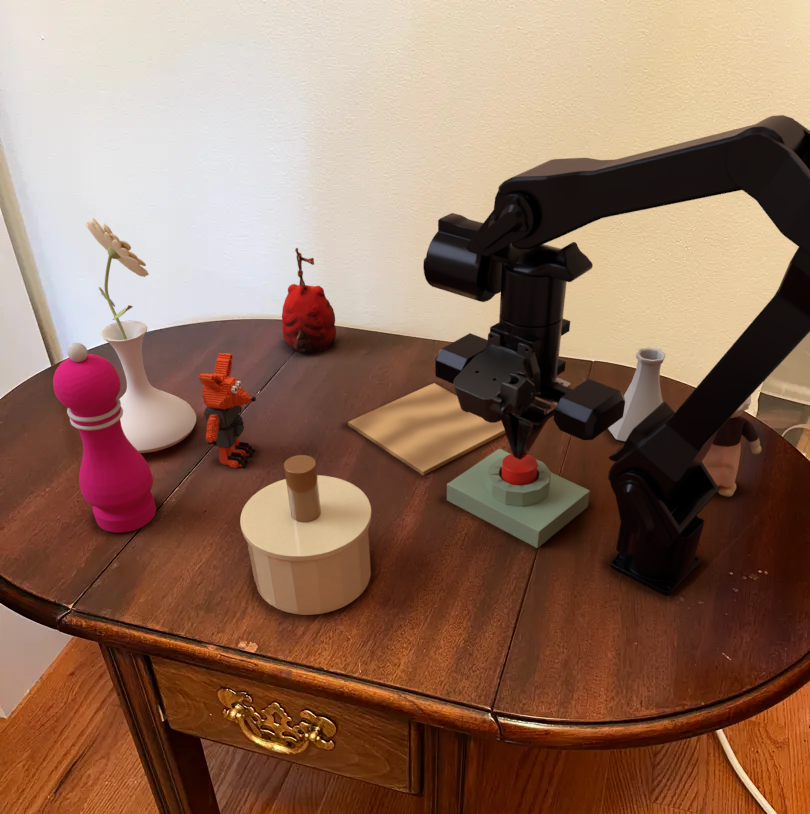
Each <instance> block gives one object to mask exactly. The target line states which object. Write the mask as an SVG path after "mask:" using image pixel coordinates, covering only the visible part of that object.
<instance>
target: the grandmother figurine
mask: <svg viewBox="0 0 810 814" xmlns="http://www.w3.org/2000/svg"><path fill="white" fill-rule="evenodd" d="M751 404H752V394H751V395H750V397H749V398H748V399H747V400H746V401H745V402H744V403H743V404H742V405H741V406H740V407H739V408H738V409H737V410H736V411H735V413H734V414H733V415H732V416H731V417H730V418H729V419H728V420H727V421H726V422H725V423H724V424H723V425H722V426H721V427H720V429H719V430H718V432H717V434H716V436H715V438H714V441H713V443H712V445H711V448H710V449H709V451H708V453H707V454H706V456H705V458H704V459H703V461H702V463H703V464H704V466H705V467H706V469H707V470H708V472H709V473H710V475H711V477H712V478H713V480H714V481H715V483H716V484H717V486H718V487H719V490H718V492H717V494H719V495H721V496H723V497H732V496H733V495H734V494H735V491H736V490H737V483H736V479H737V474H738V471H739V464H740V459H741V450H742V442H741V440H742V437H744V438H745V439H746V441H747V442H748V445H749V447H750V452H751V454H753V455H759V454H761V452H762V449H763V448H762V446H761V441H760V435H759V432H758V431H757V429H756V427H755V425H754V424H753V423H752V422H751V421H750V420H749V419H748V418H746V417H743V416H741V415H742V414H744V412H745V411H747V410H749V408H750V405H751Z"/></svg>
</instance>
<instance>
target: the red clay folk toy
mask: <svg viewBox="0 0 810 814" xmlns="http://www.w3.org/2000/svg"><path fill="white" fill-rule="evenodd" d="M294 252H295V254H296V261H297V266H298V270H297V277H298V278H299V284H295V283H291V284H290V285H288V288H287V295H286V297H285V298H284V302H283V305H282V313H281V323H282V324H281V330H282V331H281V333H282V337H283V339H284V341H285V343H286V344H287V345H288V346H289V347H290V348H291V349H292V350H293V351H296V352H298V353H302V354H308V353H309V354H310V353H317V352H320V351H324V350H326V349H327V348H330V347H331V346H332V344H333V343H334V342H335V339H336V336H337V328H336V315H335V311H334V308H333V307H332V305H331V303H330V301H329V300H328V298H327V297H326V293H325V290H324V288H323V287H321V285H309V284H306V282H305V280H304V271H303V267H302V264H303V263H302V262H306V263H308V264H310V265H312V266H314V265H315V261H314V260H315V258H314V257H310V258H306V257H303V254H302V253H301V252H299V247H296V248H295V249H294Z"/></svg>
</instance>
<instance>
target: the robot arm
mask: <svg viewBox="0 0 810 814" xmlns="http://www.w3.org/2000/svg"><path fill="white" fill-rule="evenodd" d="M740 191H742V192H744V193H746V194H747V195H748V196H749V197H751V198H752V199H753V200H755V201H756V202H757V203H758V205H759V206H760V207H761V209H762V210H763V212H764V213H765V214H766V215H767V217H768V218H769V220H770V221H771V222H772V224H774V226H775V227H776V229H777V230H778V231H779V232H780V233H781V234H782V236H784V237H785V238H786V239H788V240H789V241H790V242H792V243H793V244H794V245H796V246H797V249H796V251H795V253H794V254H793V257H791V260H790V261H789V263H788V265H787V268H786V270H785V273H784V275H783V277H782V279H781V281H780V284H779V286H778V288H777V290H776V292H775V293H774V295H773V297H772V298H771V299H770V300H769V301H768V303H767V304H766V305H765V306H764V307H763V309H761V311H760V312H759V313H758V314H757V315H756V317H755V318H754V319H753V320H752V322H751V323H750V324H749V325H748V326H747V327H746V328H745V330H744V331H742V333H741V334H740V335H739V337H738V338H737V339H736V340H735V342H734V343H733V344H732V345H731V346H730V347H729V348H728V349H727V351H726V352H725V353H724V354H723V356H722V357H721V358H720V359H718V362H716V364H715V365H714V366H713V368H712V369H710V370H709V372H708V373H707V374H706V375H705V377H704V378H703V379H702V380H701V382H700V383H699V384H698V385H697V386H696V387H695V388H694V389H693V391H692V392H691V393H690V394H689V395H688V397H687V398H686V399H685V400H684V401H683V402H682V404H680V406H679V407H678V408H677V409H676V410H673V408H671V406H670V405H669V404H668V403H667V402H666V401H665V400H663V402H662V403H661V404H660V405H659V406H658V407H657V408H656V409H654V410H653V411H652V412H651V413H650V414H649V415H648V416H647V417H646V418H644V419H643V420H642V421H641V422H640V423H639V424H638V425H637V426H636V427H635V428H633V430H632V431H631V433H630V434H629V436H628V438H627V440H626V441H624V443H623V444H621V445H620V446H619V447H618V448H617V449H616V450H615V451H614V452H613V453H612V454H611V455H609V456H608V459H609V460H610V461H612V462H614V463H612V465H611V467H610V468H609V471H608V475H607V480H608V481H609V482H610V487H611V489H612V491H613V493H614V495H615V500H616V504H617V508H618V514H619V520H620V524H619V530H618V535H617V542H616V546H615V549H616V552H618V553H617V554H616V555H615V556H614V557H612V558H611V560H610V562H609V566H610V567H609V568H611V569H614V570H615V571H617V572H619V573H621V574H622V575H624V576H627V577H629V578H631V579H633V580H634V581H636V582H639V583H641V584H642V585H644V586H645V587H648V588H650V589H652V590H654V591H656V592H658V593H659V594H661V595H664V596H670V595H671V594H672V593H673V592H674V591H675V590H676V589H677V588H678V587H680V585H681V584H683V582H684V581H685V580H686V579H687V578H688V577H689V576H690V575H691V574H692V573H693V572H694V571H695V570H696V569H697V568H698V567H699V566H700V564H701V561H702V559H701V558H700V557H699V556H698V555H697V551H698V547H699V544H700V541H701V536H702V533H703V530H704V529H703V528H704V525H705V519H703V518H701V517H699V516H698V515H699V514H700V513H701V511H702V510H703V509H704V508H705V507H706V506H707V505H708V504H709V503H710V502H711V501H712V499H713V498H714V497H715V496H716V495H717V494H718V490H719V487H718V486H717V484H716V483H715V481H714V480H713V478H712V477H711V475H710V473H709V472H708V470H707V469H706V467H705V466H704V464H703V463H702V461H703V459H704V458H705V456H706V454H707V453H708V451H709V449H710V448H711V445H712V443H713V441H714V438H715V436H716V434H717V432H718V430H719V429H720V427H721V426H722V425H723V424H724V423H725V422H726V421H727V420H728V419H729V418H730V417H731V416H732V415H733V414H734V413H735V411H736V410H737V409H738V408H739V407H740V406H741V405H742V404H743V403H744V402H745V401H746V400H747V399H748V398H749V397H750V395H751V396H752V394H753V393H755V391H756V390H757V389H758V388H759V387H760V386H761V385H762V384H763V383H764V382H765V381H766V380H767V379H768V378H769V377H770V375H772V373H773V372H774V371H775V370H776V369H777V368H778V367H779V366H780V365H781V364H782V363H783V362H784V360H785V359H786V358H787V357H788V356H790V354H791V353H792V352H793V351H794V350H795V349H796V348H797V346H799V344H800V343H802V342H803V340H804V339H805V338H806V337H807V336H808V335H809V334H810V129H808V128H807V127H805V126H804V125H803V124H801V123H800V122H798V121H797V120H796V119H794V117H790V116H788V115H784V114H780V115H779V114H778V115H770V116H768V117H766V118H764V119H762V120H760V121H758V122H757V123H754V124H751V125H747V126H743V127H738V128H735V129H731V130H726V131H723V132H719V133H716V134H711V135H707V136H704V137H703V136H702V137H700V138H695V139H692V140H691V139H690V140H687V141H683V142H679V143H676V144H675V143H674V144H671V145H668V146H664V147H663V146H662V147H659V148H655V149H651V150H648V151H644V152H640V153H635V154H633V155H628V156H624V157H620V158H616V159H596V158H591V157H572V158H571V157H570V158H553V159H549V160H547V161H544V162H543V163H540V164H539V165H536V166H534V167H532V168H529V169H527V170H525V171H523V172H520V173H519V174H515V175H514V176H512V177H510V178H508V179H506V180H504V181H503V182H502V183H501V184H500V185H499V186H498V189H497V193H496V194H495V196H494V205H493V210H492V211H491V213H489V215H488V216H487V218H486V219H485V220H484V221H483V222H481V221H477V220H473V219H469V218H467V217H466V216H464V215H461V214H458V213H454V212H452V213H448V214H447V215H444V216H442V217H440V218H439V219H438V220H437V232H436V233H435V234H434V236H433V237H432V239H431V241H430V243H429V245H428V248H427V250H426V256H425V257H424V258H423V266H422V267H423V276H424V278H425V281H426V282H427V284H428V285H429V286H431V287H432V288H435V289H439V290H442V291H446V292H447V293H452V294H454V295H457V296H461V297H463V298H467V299H470V300H474V301H477V302H481V303H485V302H488V301H490V300H491V299H493V298H494V297H495V296H496V295H497V294H500V298H499V315H498V317H499V318H498V322H497V323H495V324H493V325H491V326H489V332H488V333H487V339H486V338H484V337H481V336H478V335H476V334H474V333H471V332H469V333H467V334H466V335H464V336H462V337H460V338H458V339H456V340H455V341H453V342H451V343H449V344H447V345H445V346H444V347H441V349H440V350H438V352H437V354H436V356H435V358H434V367H435V368H434V375H435V378H438V379H441V380H442V381H445V382H447V383H450V384H452V385H453V388H454V391H455V393H456V394H455V395H456V396H457V397H458V401H459V404H460V408H461V409H462V410H463V411H465V412H470V413H472V414H474V415H477V416H479V417H481V418H483V419H484V420H485V421H487V422H490V423H496V422H499V421H502V424H503V426H504V429H505V432H506V433H505V435H506V438H507V441H508V444H509V447H510V450H511V454H513V456H514V457H515V458H518V459H520V460H521V459H522V458H524V457H525V456H526V455H527V454H528V453H529V451H530V450H531V448H532V447H533V445H534V444H535V442H536V440H537V438H538V436H539V435H540V433H541V432H542V430H543V429H544V427H545V425H546V424H547V423H548V421H549V420H550V419H551V418H552V417H553V419H552V420H553V422H554V423H555V425H556V426H557V428H558V430H559V431H561V432H564V433H566V434H568V435H570V436H572V437H575V438H577V439H579V440H581V441H593V440H595V439H596V438H597V437H598V436H599V435H602V433H604V432H605V431H606V430H609V429H608V428H609V427H610V426H612V425H613V424H614V423H616V422H617V421H618V420H620V419H621V418H622V417H623V413H624V407H625V399H624V395H625V394H623V392H622V391H621V390H619V389H617V388H614V387H611V386H608V385H607V384H603V383H601V382H598V381H596V380H594V379H592V378H591V379H590V378H587V379H586V380H584V381H583V382H581V383H580V384H579V385H577V386H575V387H574V388H572V387H571V382H569V381H567V380H565V379H562V378H560V377H558V376H560V375H561V374H563V373H564V372H565V371H566V365H567V361H565V360H563V359H561V358H560V349H561V339H562V336H564V335H566V334H567V333H569V332H570V330H571V329H570V328H571V320H568V319H566V318H564V313H565V312H564V311H565V300H566V293H567V283H572V282H573V281H576V280H577V279H578V278H580V277H581V276H583V275H584V274H586V273H588V272H589V271H591V270H592V269H593V262H592V261H591V260H590V258H589V257H588V256H587V255H586V254H585V253H584V252H583V251H581V249H580V248H579V246H578V243H577V242H576V241H572V242H570V243H569V244H567V245H565V246H563V247H562V248H560V247H557V246H553V245H549V244H546V243H549V242H552V241H554V240H557V239H560V238H561V237H564V236H566V235H568V234H570V233H572V232H574V231H576V230H578V229H581V228H583V227H586V226H587V225H590V224H591V223H594V222H596V221H599V220H602V219H604V218H611V217H615V216H620V215H625V214H629V213H634V212H639V211H645V210H650V209H655V208H659V207H664V206H670V205H674V204H679V203H684V202H690V201H694V200H695V201H696V200H700V199H705V198H709V197H715V196H719V195H720V196H721V195H724V194H729V193H734V192H740Z"/></svg>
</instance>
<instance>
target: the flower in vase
mask: <svg viewBox="0 0 810 814" xmlns="http://www.w3.org/2000/svg"><path fill="white" fill-rule="evenodd" d="M85 227H86V228H87V229H88V230H89V232H90V233H91V235H92V236H93V237H94V239H95V240H96V241H97V243H98V244H100V245H101V246H102V247H103V248H104V249H105V250H106V251H107V255H108V256H107V262H106V266H105V267H106V268H105V275H104V290H103V289H102V287H100V286H99V287H98V290H99V291H100V294H101V295H102V296H103V297H104V299H105V300H106V301H107V304H108V306H109V308H110V311H111V313H112V315H113V318H112V321H115V322H114V323H113V322H112V323H110V324H108V325H107V326H105V327H104V328H103V329H102V330H101V331H100V336H101V338H102V339H103V340H105V341H106V342H107V343H108V344H109V345H110V346H111V347H112V348H113V349H114V351H115V354H116V355H117V357H118V358H119V361H120V363H121V366H122V369H123V373H124V376H125V380H126V390H125V392H124V394H123V395H122V396H121V397H120V398H119V400H120V402H121V407H122V409H123V415H122V417H121V418H120V421H121V426H122V429H123V432H124V434H125V436H126V438H127V439H128V440H129V442H130V443H131V444H132V445H133V446H134V447H135V449H136V450H137V451H138V452H139V453H140V454H146V453H154V452H158V451H161V450H164V449H168V448H170V447H172V446H173V447H174V446H175V445H176V444H179V443H180V442H182V441H183V440H185V439H186V438H187V437H188V436H189V435H190V434H191V432H193V430H194V428H195V425H196V423H197V413H196V411H195V410H194V408H192V406H191V405H190V404H189V402H187V401H186V400H184V399H182V398H181V397H179V396H177V395H174V394H172V393H170V392H167V391H164V390H160V389H157V388H155V387H154V386H152V384H151V383H150V382H149V379H148V376H147V373H146V371H145V366H144V359H143V341H144V337H145V336H146V333H147V331H148V326H147V324H146V323H144V322H142V321H139V320H132V319H131V320H121V321H120V317H122V316H123V315H124V314H125V313H126V312H127V311H129V310H131V309H133V308H134V305H130V304H129V305H127V307H125V308H123V309H122V310H120V311H118V313H117V312H116V310H115V307H116V305H115V303H114V301H113V299H111V298H110V294H109V277H110V270H111V263H112V260H117V261H118V262H119V263H120V264H121V265H122V266H123V267H126V268H127V269H128V270H129V271H131V272H133V273H134V274H136V275H137V276H139V277H143V278H146V276H149V275H150V274H149V271H148V270H147V269H146V268H145V267H146V266H147V264H146V263H145V262H144V261H143V260H142V259H140V258H139V256H137V255H136V254H135V253H134V252H132V251H131V250H132V246H131V244H130V243H128V241H125V240H120V238H119V237H118V236H117V235H116V234H114V233H113V231H112V229H111V228H110V227H109V226H108V224H106V223H102V225H101V224H100V223H99V222H98V221H97V219H95V218H94V217H91V221H90V220H87V221H86V223H85Z"/></svg>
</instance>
